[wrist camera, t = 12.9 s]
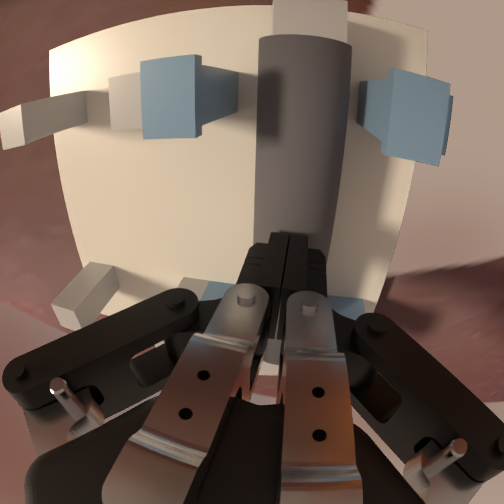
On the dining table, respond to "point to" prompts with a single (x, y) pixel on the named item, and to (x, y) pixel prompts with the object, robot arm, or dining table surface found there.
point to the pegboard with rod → (218, 154)
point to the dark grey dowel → (300, 127)
